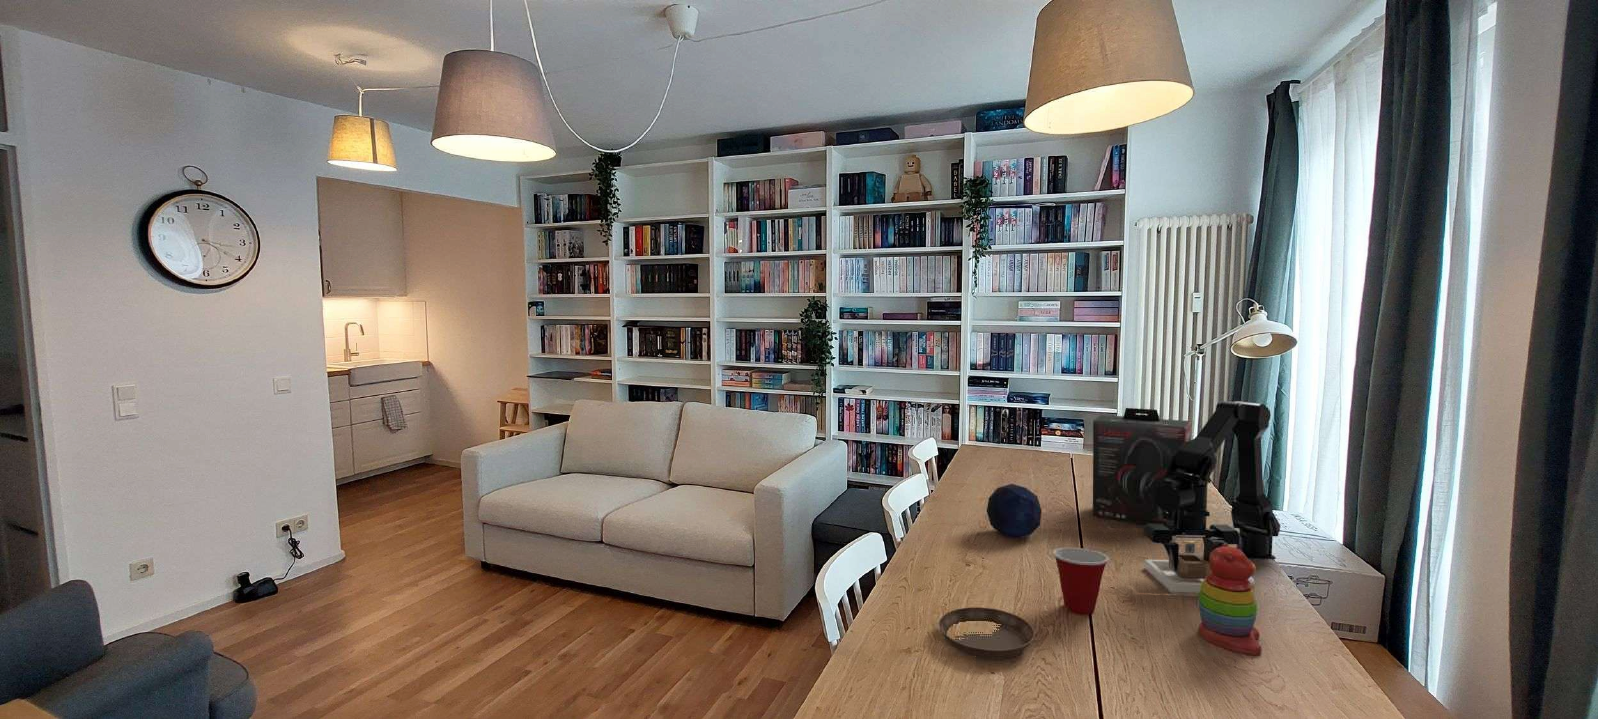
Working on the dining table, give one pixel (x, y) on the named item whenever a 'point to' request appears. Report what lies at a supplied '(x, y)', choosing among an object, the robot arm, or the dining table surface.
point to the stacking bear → (1229, 602)
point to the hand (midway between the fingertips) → (1189, 570)
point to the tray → (1172, 578)
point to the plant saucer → (998, 646)
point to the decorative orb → (1014, 511)
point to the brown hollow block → (1191, 566)
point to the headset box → (1133, 463)
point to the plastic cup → (1080, 577)
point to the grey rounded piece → (1189, 546)
